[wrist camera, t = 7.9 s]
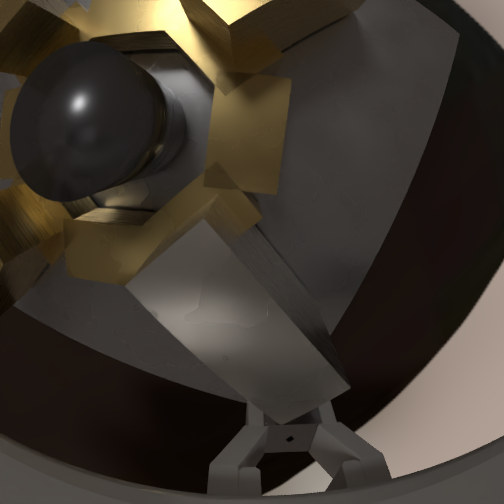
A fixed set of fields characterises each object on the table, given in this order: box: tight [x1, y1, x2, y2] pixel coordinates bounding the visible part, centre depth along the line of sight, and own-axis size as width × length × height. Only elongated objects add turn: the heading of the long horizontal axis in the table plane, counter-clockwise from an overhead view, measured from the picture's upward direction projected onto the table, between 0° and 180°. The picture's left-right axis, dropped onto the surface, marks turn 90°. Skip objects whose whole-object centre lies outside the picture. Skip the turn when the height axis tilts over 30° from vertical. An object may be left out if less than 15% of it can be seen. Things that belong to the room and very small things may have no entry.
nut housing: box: [0, 0, 460, 403], centre depth 9 cm, size 22×22×7 cm
